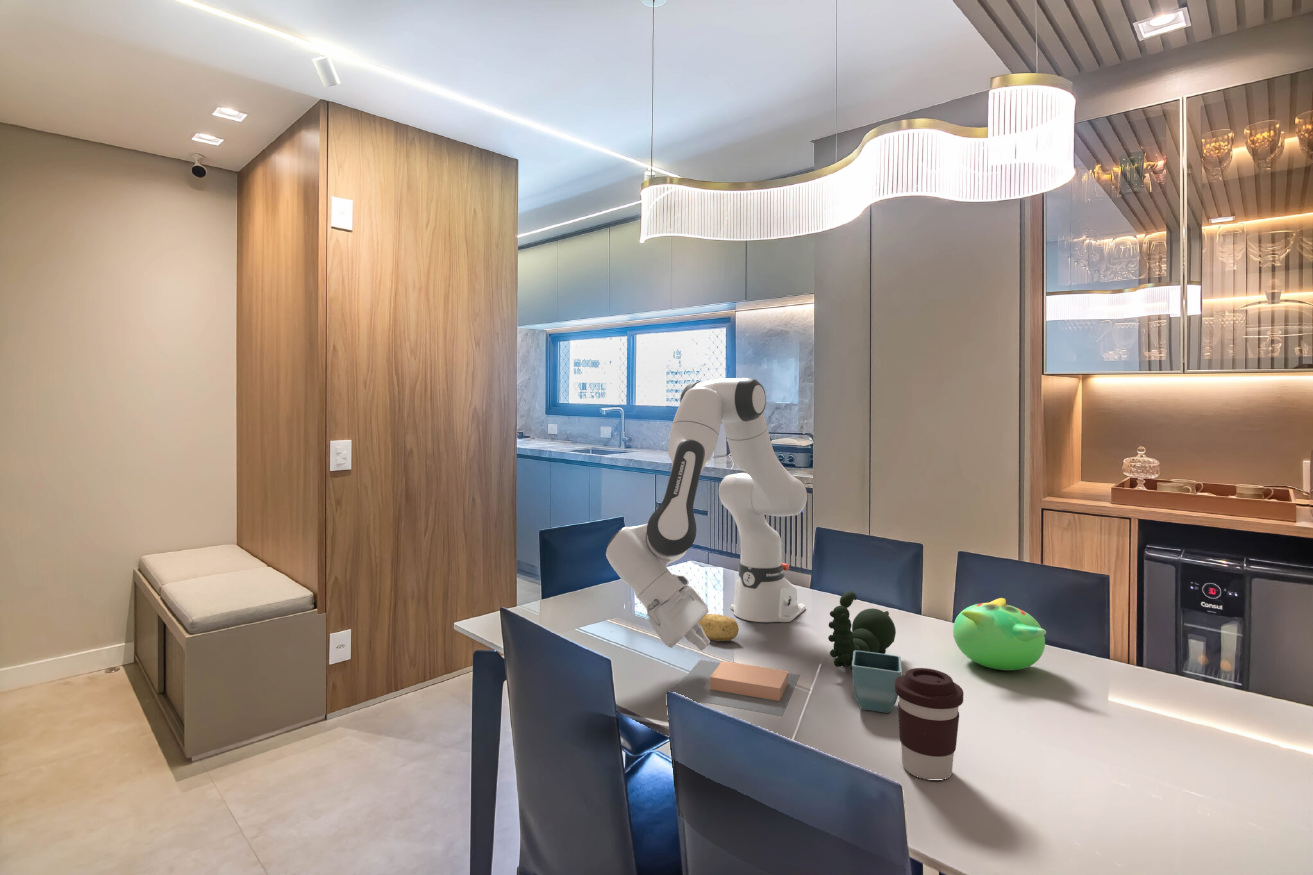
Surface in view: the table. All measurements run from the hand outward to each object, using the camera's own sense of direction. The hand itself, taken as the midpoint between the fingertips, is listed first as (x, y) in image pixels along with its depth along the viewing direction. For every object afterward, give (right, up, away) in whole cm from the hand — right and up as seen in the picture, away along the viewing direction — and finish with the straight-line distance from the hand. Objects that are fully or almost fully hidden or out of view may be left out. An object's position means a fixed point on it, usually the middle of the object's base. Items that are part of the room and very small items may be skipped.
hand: (706, 646), depth 135 cm
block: (+2, -6, -1) cm, 6 cm away
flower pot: (+32, -8, -10) cm, 34 cm away
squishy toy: (+65, -8, +10) cm, 66 cm away
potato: (+5, -7, +26) cm, 27 cm away
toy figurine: (+36, -8, +12) cm, 39 cm away
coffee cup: (+32, -9, -32) cm, 46 cm away
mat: (+6, -8, -2) cm, 10 cm away
